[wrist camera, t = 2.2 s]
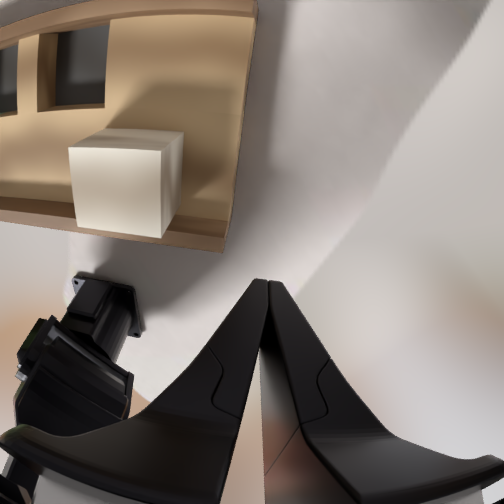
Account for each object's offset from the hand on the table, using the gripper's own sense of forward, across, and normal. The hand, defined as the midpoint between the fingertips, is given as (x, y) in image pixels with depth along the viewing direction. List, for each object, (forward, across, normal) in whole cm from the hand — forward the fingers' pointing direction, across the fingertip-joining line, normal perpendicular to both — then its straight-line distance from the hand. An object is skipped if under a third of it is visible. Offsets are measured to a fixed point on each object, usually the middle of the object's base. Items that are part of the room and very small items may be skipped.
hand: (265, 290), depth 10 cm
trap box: (+12, +14, -3) cm, 19 cm away
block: (+10, +8, 0) cm, 12 cm away
